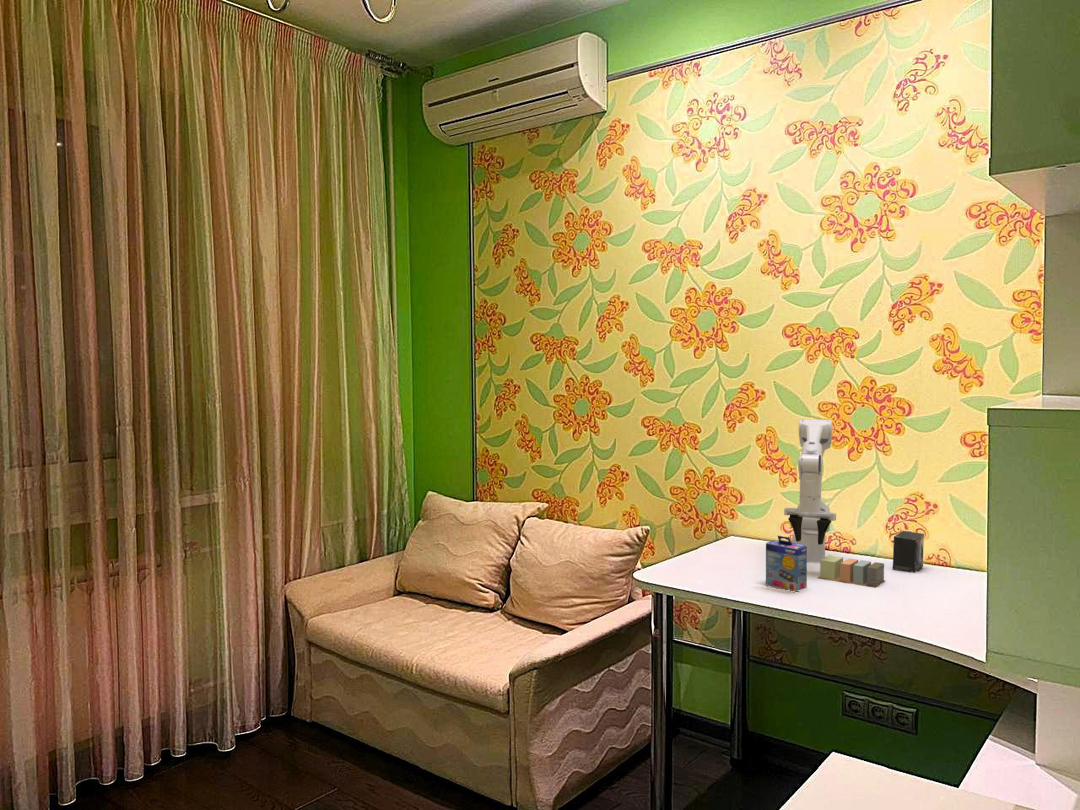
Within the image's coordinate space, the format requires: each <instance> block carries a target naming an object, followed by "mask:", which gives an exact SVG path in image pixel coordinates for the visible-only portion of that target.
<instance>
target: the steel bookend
mask: <svg viewBox="0 0 1080 810" xmlns="http://www.w3.org/2000/svg"><path fill="white" fill-rule="evenodd" d="M884 580H885V563H883V562H877V561H875V562H873V563H871V565H870V566H868V567H867V585H868V586H874V587H876V586H878V585H879V584H880V585H882V584H883V583H884V582H883V581H884ZM882 582H883V583H882ZM881 583H882V584H881ZM880 585H879V586H880ZM879 586H878V587H879ZM876 588H877V587H876Z"/></svg>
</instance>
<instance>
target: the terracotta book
mask: <svg viewBox="0 0 1080 810" xmlns="http://www.w3.org/2000/svg"><path fill="white" fill-rule="evenodd" d="M858 562H859V559H855V558H850V557H849V558H847V559H845V560H843V562H842V563H840V581H843V582H851V581H853V565H855V564H856V563H858Z"/></svg>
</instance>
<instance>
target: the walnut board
mask: <svg viewBox="0 0 1080 810" xmlns="http://www.w3.org/2000/svg"><path fill="white" fill-rule="evenodd" d="M817 579H818V580H819V579H820V580H825V581H832V582H837V583H842V584H849V585H850V584H851V585H855V586H856V585H857V586H861V587H867V588H874V589H876V588H878V587H879V586H881V585H882V584H884V583H885V582H886V580H885V579H884V581H883V582H882V583H881V584H879V585H878V586H876V587H874V586H868V585H867V582H866V583H864V584H863V585H862V584H856V583H853V581H851V582H843V581H840V577H838V578H837V579H835V580H832V579H826V578H820V576H819V577H817Z"/></svg>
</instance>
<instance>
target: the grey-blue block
mask: <svg viewBox="0 0 1080 810" xmlns="http://www.w3.org/2000/svg"><path fill="white" fill-rule="evenodd" d="M870 565H872V561H870V560H863V559H861V560H860V561H859V560H858V563H856V564H855V565H853V583H856V584H862V585H863V584H864V583H866V582H867V567H868V566H870Z"/></svg>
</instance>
